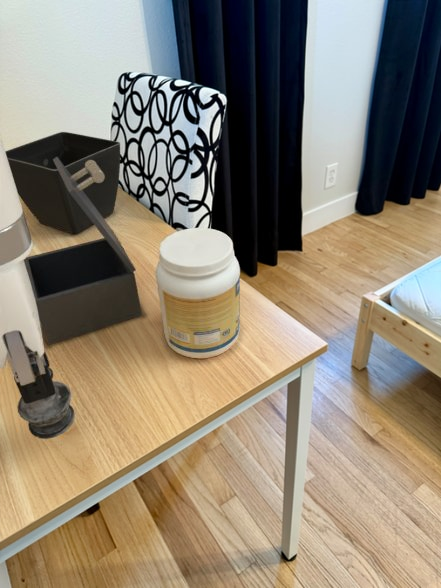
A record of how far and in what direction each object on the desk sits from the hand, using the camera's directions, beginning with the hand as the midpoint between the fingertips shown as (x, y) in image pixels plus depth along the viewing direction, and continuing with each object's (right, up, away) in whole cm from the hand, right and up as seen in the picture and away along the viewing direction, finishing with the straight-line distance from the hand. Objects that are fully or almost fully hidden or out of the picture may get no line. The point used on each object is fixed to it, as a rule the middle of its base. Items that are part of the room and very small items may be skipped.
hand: (37, 382), depth 47 cm
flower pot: (-14, +28, +56) cm, 64 cm away
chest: (-3, +7, +29) cm, 30 cm away
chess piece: (0, -6, +4) cm, 7 cm away
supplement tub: (+17, +3, +23) cm, 29 cm away
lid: (0, +22, +20) cm, 30 cm away
